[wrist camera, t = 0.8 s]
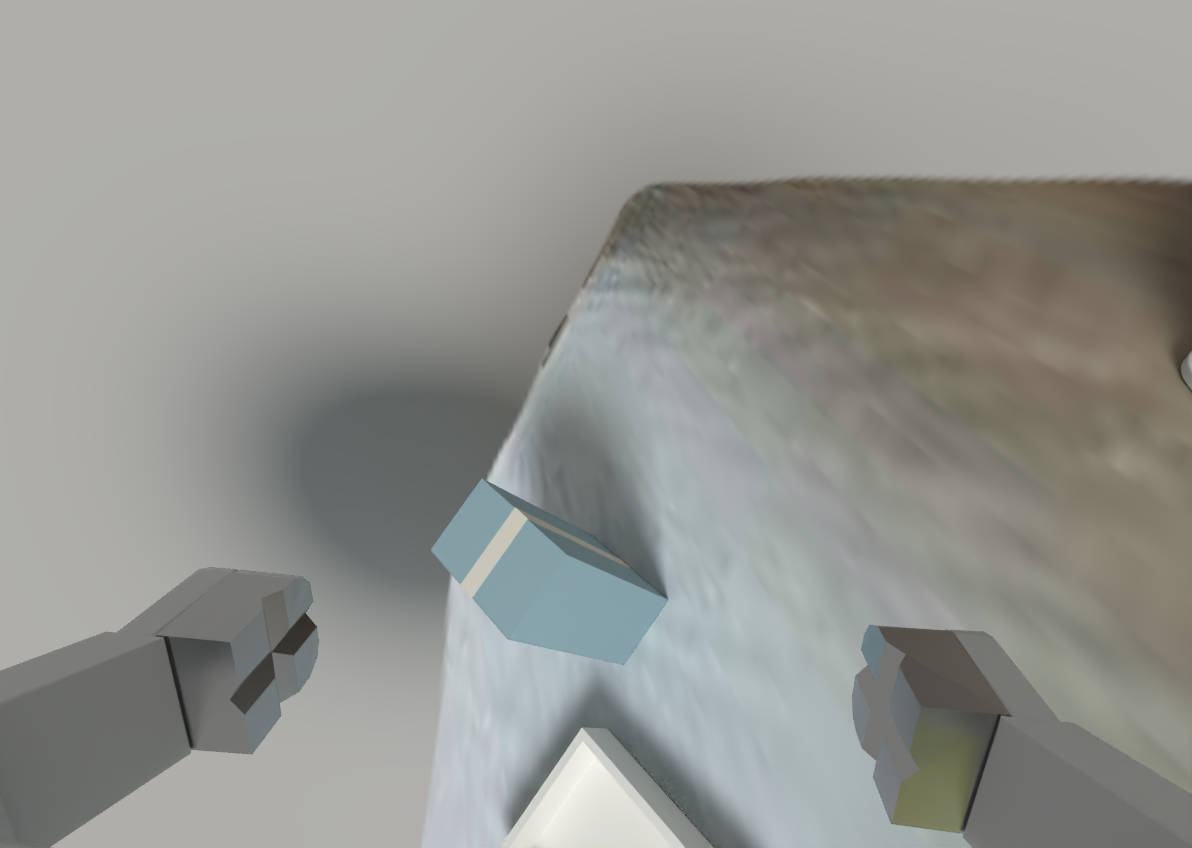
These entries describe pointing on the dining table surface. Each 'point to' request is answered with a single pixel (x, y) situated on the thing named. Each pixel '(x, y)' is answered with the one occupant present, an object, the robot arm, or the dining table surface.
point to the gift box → (546, 578)
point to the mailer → (602, 803)
